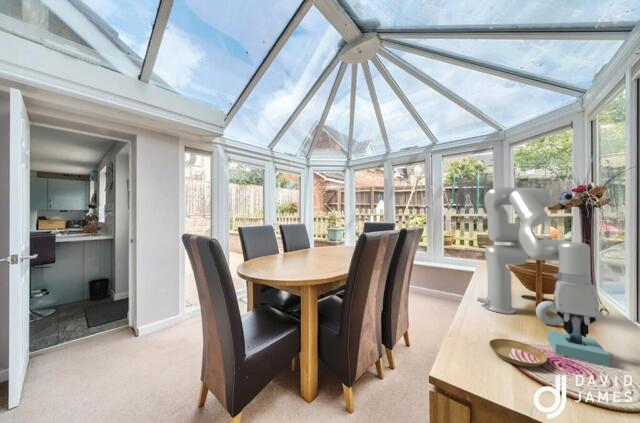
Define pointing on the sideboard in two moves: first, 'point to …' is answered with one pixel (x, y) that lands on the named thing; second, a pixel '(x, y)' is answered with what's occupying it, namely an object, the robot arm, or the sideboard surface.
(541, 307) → the donut
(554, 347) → the slot block
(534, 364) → the plant saucer
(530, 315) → the sideboard surface
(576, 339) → the steel pin
